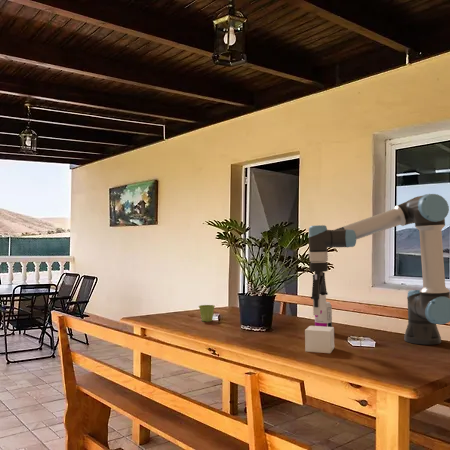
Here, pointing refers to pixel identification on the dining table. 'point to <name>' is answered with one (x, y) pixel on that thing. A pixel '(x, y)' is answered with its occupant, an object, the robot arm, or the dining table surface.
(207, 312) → the plant pot
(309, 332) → the off-white square block
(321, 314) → the supplement can
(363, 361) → the dining table surface
